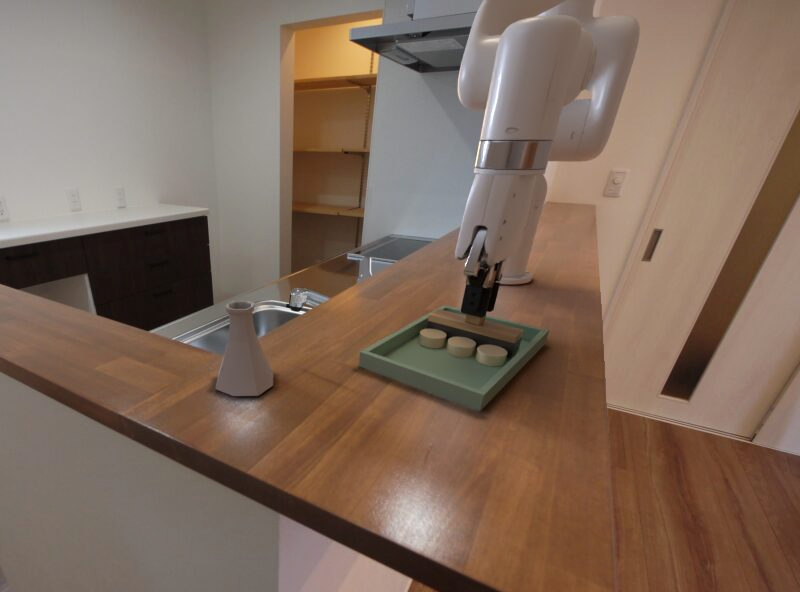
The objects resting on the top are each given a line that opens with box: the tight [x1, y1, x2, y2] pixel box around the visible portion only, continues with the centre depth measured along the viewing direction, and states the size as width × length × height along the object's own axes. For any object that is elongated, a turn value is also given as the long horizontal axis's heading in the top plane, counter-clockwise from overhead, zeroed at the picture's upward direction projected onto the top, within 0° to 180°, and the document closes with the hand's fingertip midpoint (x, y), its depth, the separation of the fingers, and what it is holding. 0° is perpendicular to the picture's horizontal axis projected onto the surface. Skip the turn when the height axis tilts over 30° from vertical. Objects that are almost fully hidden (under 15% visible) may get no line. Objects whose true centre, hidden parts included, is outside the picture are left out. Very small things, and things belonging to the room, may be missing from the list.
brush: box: [427, 268, 524, 357], centre depth 58 cm, size 3×12×10 cm, turn 47°
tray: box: [358, 304, 550, 412], centre depth 57 cm, size 24×16×3 cm, turn 137°
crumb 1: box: [418, 329, 447, 348], centre depth 60 cm, size 4×4×2 cm
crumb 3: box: [475, 345, 508, 366], centre depth 55 cm, size 4×4×2 cm
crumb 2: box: [446, 337, 476, 357], centre depth 58 cm, size 4×4×2 cm
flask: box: [214, 300, 274, 397], centre depth 50 cm, size 7×7×10 cm
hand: (476, 311), depth 58 cm, fingers closed on brush, 2 cm apart
